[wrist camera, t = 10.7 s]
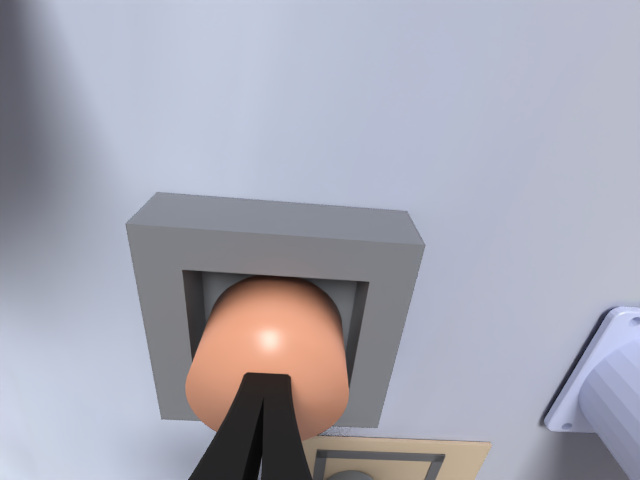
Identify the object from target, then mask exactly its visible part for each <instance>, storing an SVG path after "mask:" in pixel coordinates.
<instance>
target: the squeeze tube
mask: <svg viewBox="0 0 640 480" xmlns="http://www.w3.org/2000/svg"><path fill="white" fill-rule="evenodd" d="M327 480H373V479H372V478H371V477H369V476H368V475H366V474H364V473H362V472H359V471H354V470H348V471H342V472H339V473H337V474H335V475H333V476H331V477H330V478H329V479H327Z"/></svg>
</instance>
